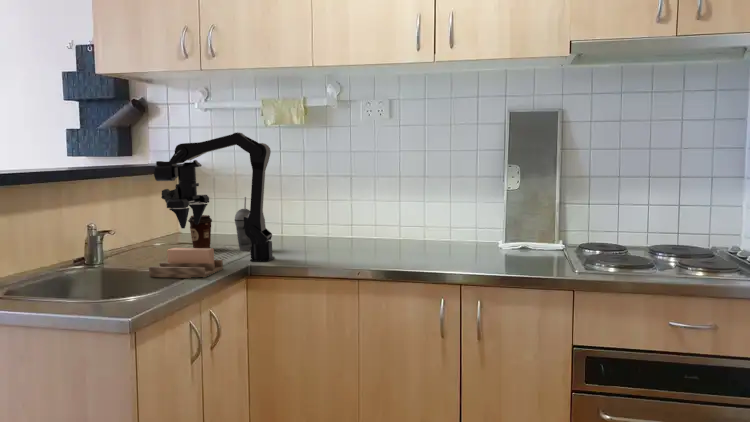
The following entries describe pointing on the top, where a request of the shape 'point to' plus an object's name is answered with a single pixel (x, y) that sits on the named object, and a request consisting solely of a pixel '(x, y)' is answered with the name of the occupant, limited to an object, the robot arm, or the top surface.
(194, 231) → the coffee cup
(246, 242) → the beverage cup
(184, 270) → the drying rack
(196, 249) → the pink rectangular block
